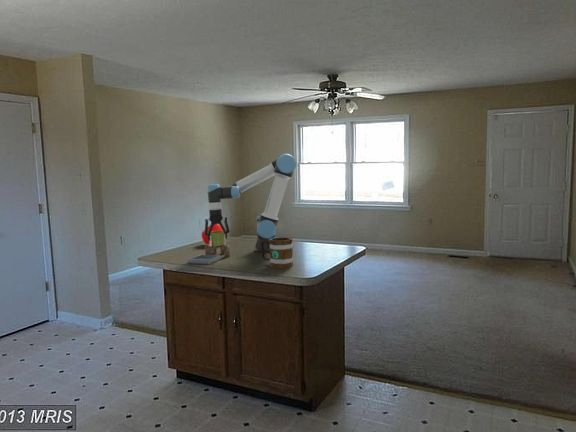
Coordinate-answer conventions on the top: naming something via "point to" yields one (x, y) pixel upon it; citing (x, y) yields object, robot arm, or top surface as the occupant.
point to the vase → (215, 228)
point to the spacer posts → (212, 250)
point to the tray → (204, 259)
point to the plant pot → (217, 238)
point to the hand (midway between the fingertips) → (217, 244)
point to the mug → (279, 252)
